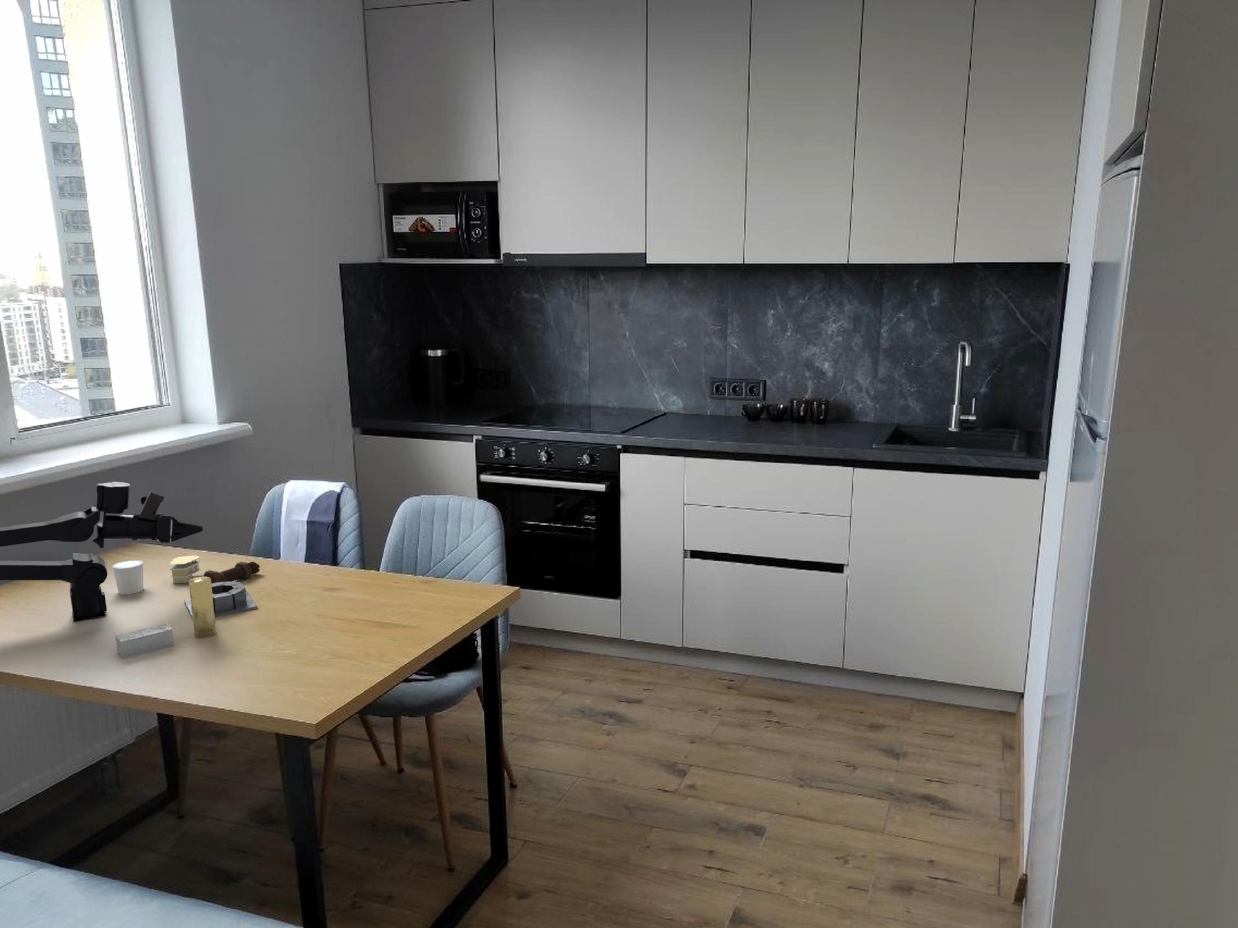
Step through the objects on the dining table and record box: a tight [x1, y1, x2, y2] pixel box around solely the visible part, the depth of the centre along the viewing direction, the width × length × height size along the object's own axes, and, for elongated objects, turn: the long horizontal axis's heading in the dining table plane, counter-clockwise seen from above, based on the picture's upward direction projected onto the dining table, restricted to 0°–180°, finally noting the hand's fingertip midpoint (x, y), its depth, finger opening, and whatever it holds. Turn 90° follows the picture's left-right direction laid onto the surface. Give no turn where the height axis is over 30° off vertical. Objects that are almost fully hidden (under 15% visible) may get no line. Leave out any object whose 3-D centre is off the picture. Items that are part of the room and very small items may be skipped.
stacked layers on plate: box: [169, 555, 202, 584], centre depth 241 cm, size 10×9×6 cm
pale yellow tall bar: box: [188, 576, 217, 639], centre depth 203 cm, size 4×4×12 cm
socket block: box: [184, 581, 258, 620], centre depth 221 cm, size 14×14×4 cm
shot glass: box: [112, 559, 144, 595], centre depth 232 cm, size 7×7×7 cm
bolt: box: [202, 561, 261, 584], centre depth 238 cm, size 6×5×15 cm
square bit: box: [115, 623, 175, 660], centre depth 196 cm, size 10×4×4 cm, turn 132°
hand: (200, 528), depth 225 cm, fingers open, 9 cm apart
